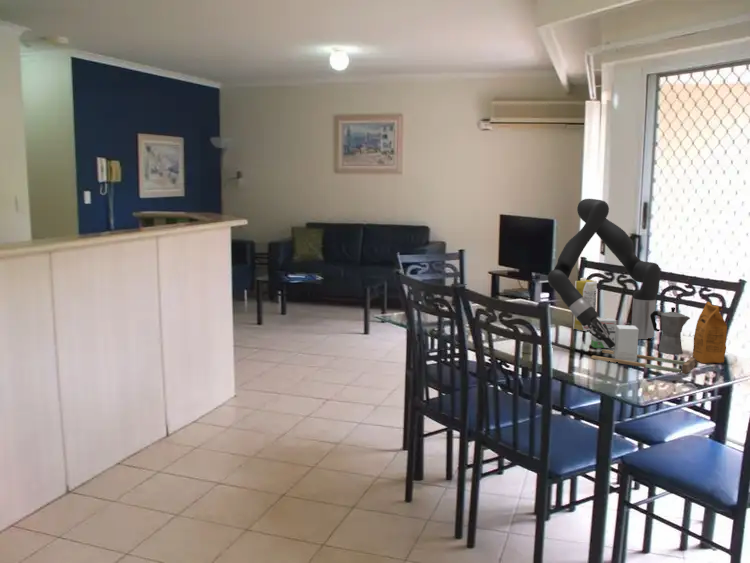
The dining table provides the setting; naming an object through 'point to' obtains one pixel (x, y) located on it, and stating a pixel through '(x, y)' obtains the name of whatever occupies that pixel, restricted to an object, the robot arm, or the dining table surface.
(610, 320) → the ink box
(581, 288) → the juice carton
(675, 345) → the coffeepot
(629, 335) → the supplement box
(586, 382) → the dining table surface
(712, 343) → the coffee package
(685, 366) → the beam slot
